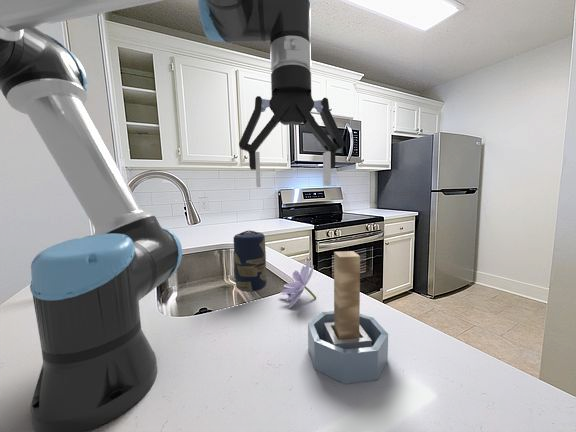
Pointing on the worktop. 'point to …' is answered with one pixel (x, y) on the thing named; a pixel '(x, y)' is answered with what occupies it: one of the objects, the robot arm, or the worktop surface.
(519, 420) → the worktop surface
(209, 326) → the worktop surface
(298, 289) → the water lily
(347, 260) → the square wooden post
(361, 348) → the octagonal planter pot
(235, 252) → the canister
